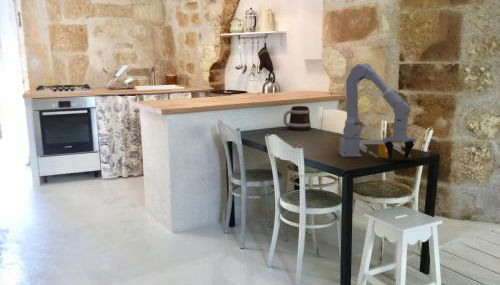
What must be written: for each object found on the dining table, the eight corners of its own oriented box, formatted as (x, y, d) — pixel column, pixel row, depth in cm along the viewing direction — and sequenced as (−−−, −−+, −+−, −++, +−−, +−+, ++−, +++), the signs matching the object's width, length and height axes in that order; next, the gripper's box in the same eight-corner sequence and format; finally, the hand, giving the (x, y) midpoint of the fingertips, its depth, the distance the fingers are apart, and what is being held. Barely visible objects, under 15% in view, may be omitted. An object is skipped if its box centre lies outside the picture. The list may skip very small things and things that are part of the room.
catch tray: (365, 152, 218) (365, 147, 217) (352, 144, 238) (353, 139, 238) (401, 151, 219) (401, 146, 218) (385, 143, 239) (386, 139, 239)
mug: (303, 126, 298) (303, 105, 296) (315, 130, 285) (316, 107, 282) (277, 128, 290) (278, 106, 287) (289, 132, 277) (289, 108, 274)
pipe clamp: (386, 158, 205) (387, 145, 204) (377, 157, 208) (378, 144, 207) (395, 154, 215) (396, 141, 213) (387, 152, 217) (387, 140, 216)
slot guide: (375, 158, 205) (375, 155, 205) (368, 153, 215) (368, 151, 215) (410, 157, 206) (410, 155, 206) (401, 153, 216) (402, 150, 216)
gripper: (387, 130, 193) (386, 160, 195) (419, 129, 193) (417, 159, 196) (382, 127, 199) (380, 156, 202) (412, 127, 200) (410, 156, 203)
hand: (398, 157), depth 199 cm, fingers open, 7 cm apart
